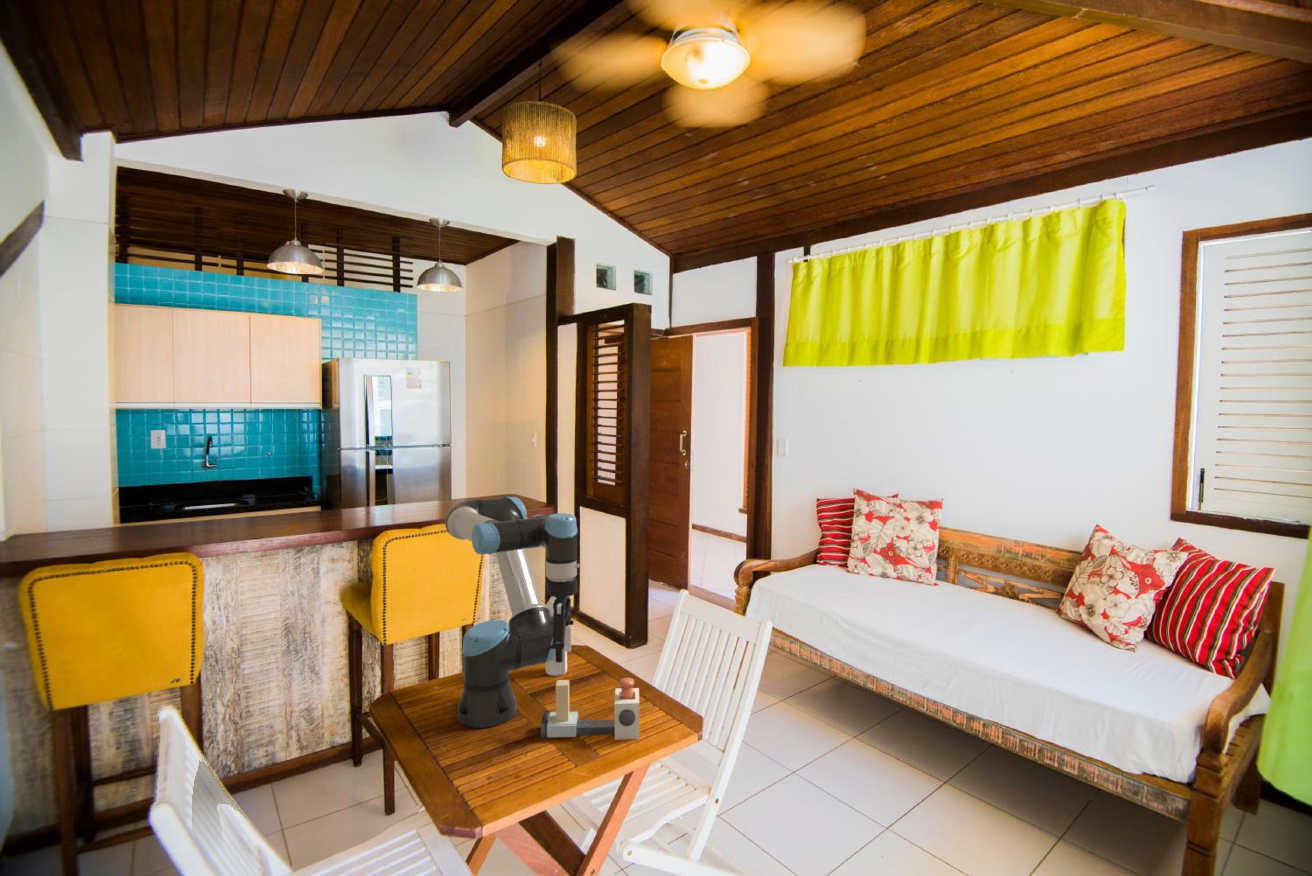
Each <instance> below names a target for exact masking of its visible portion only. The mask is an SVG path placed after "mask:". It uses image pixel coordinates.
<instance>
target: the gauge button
mask: <svg viewBox="0 0 1312 876" xmlns="http://www.w3.org/2000/svg"><path fill="white" fill-rule="evenodd" d="M619 685H620V688H621V700H629V699H633V688H634V685H635V679H634V678H632V677H622V678H621V679H620V680H619Z"/></svg>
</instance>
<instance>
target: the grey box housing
mask: <svg viewBox="0 0 1312 876" xmlns="http://www.w3.org/2000/svg"><path fill="white" fill-rule="evenodd" d="M614 689H615V692H614V719H615V735H614V740H615V741H616V740H617V741H618V740H620V741H621V740H640V688H639V687H633V699H629V700H621V687H619V688H617V687H615V688H614Z"/></svg>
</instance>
